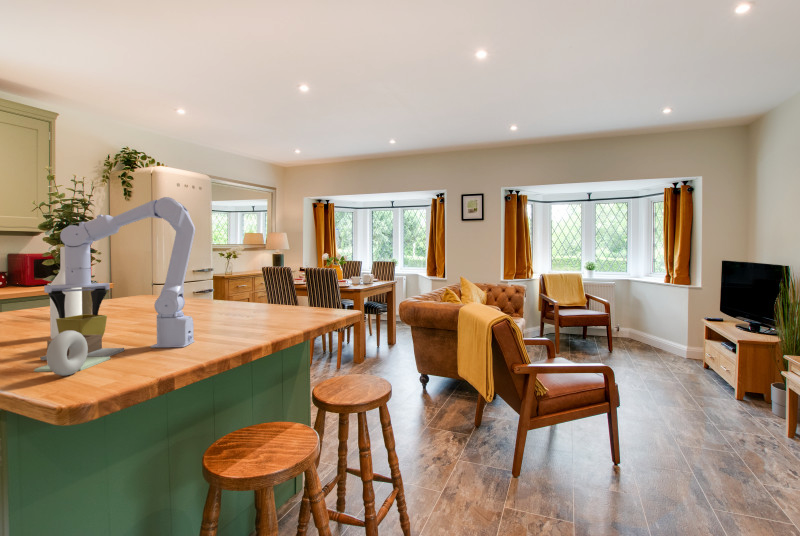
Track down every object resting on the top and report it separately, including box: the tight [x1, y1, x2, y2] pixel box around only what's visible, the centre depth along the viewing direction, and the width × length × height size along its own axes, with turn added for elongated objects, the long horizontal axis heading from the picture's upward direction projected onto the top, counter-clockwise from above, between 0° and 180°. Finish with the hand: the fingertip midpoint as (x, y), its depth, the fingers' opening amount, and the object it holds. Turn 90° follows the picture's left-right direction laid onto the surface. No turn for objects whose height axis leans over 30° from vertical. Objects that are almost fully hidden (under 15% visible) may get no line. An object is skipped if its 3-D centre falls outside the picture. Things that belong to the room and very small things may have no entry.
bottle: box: [49, 246, 83, 340], centre depth 132 cm, size 8×8×30 cm
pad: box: [33, 356, 111, 373], centre depth 98 cm, size 10×11×1 cm
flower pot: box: [56, 313, 108, 338], centre depth 119 cm, size 9×9×9 cm
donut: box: [46, 331, 88, 377], centre depth 90 cm, size 10×4×10 cm, turn 5°
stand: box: [39, 347, 125, 361], centre depth 108 cm, size 15×10×4 cm, turn 95°
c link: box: [46, 335, 103, 356], centre depth 108 cm, size 8×9×4 cm
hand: (79, 316), depth 114 cm, fingers open, 7 cm apart
